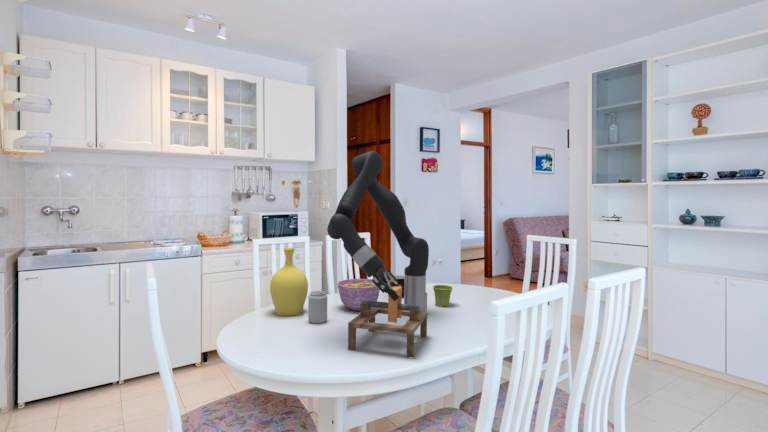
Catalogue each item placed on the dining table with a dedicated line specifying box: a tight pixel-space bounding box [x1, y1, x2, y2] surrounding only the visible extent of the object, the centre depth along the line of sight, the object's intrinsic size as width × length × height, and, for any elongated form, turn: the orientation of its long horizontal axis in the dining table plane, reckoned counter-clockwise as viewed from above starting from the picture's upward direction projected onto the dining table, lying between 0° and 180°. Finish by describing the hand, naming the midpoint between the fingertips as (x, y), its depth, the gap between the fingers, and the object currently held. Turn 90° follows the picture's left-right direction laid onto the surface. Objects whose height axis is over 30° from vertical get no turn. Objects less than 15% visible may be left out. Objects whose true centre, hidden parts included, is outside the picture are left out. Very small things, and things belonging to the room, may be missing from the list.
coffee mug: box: [390, 275, 404, 299], centre depth 214 cm, size 12×9×10 cm
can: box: [307, 290, 328, 325], centre depth 170 cm, size 8×8×12 cm
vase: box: [269, 247, 309, 317], centre depth 182 cm, size 16×16×28 cm
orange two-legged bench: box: [387, 286, 403, 323], centre depth 146 cm, size 3×6×11 cm, turn 162°
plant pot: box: [432, 284, 454, 308], centre depth 198 cm, size 9×9×9 cm
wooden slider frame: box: [347, 300, 428, 358], centre depth 147 cm, size 22×22×14 cm
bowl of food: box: [336, 278, 381, 312], centre depth 191 cm, size 20×20×12 cm
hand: (399, 296), depth 145 cm, fingers closed on orange two-legged bench, 6 cm apart
